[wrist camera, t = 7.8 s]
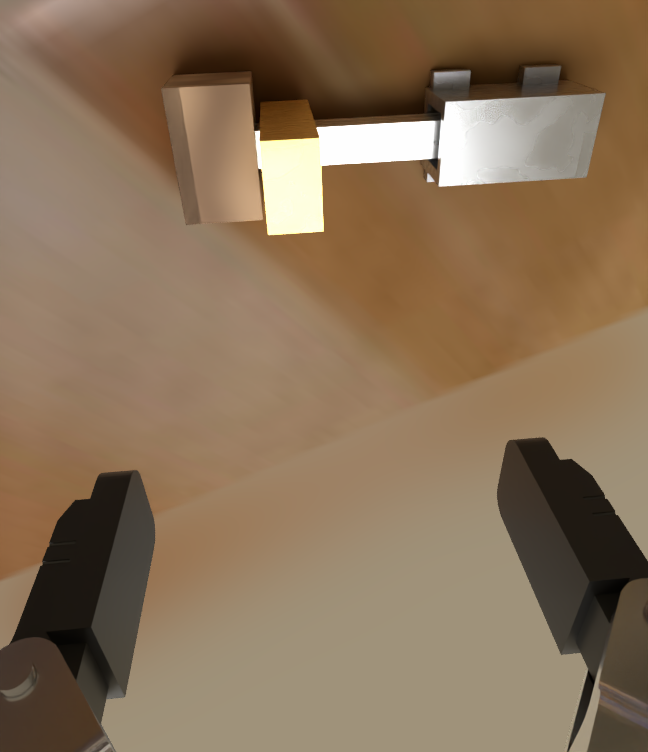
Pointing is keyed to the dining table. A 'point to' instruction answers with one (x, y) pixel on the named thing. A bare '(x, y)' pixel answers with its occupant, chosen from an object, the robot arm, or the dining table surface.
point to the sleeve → (511, 127)
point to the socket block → (214, 146)
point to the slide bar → (327, 155)
